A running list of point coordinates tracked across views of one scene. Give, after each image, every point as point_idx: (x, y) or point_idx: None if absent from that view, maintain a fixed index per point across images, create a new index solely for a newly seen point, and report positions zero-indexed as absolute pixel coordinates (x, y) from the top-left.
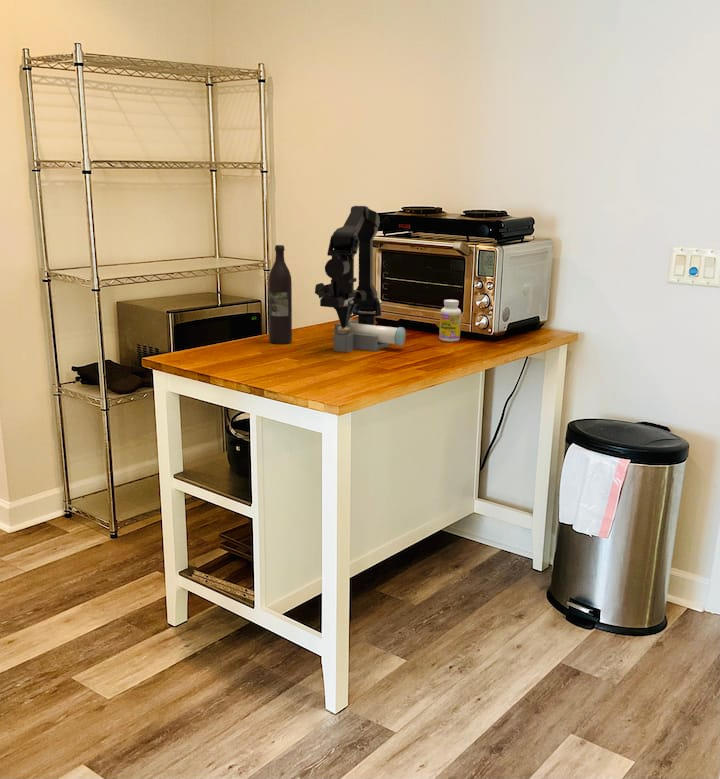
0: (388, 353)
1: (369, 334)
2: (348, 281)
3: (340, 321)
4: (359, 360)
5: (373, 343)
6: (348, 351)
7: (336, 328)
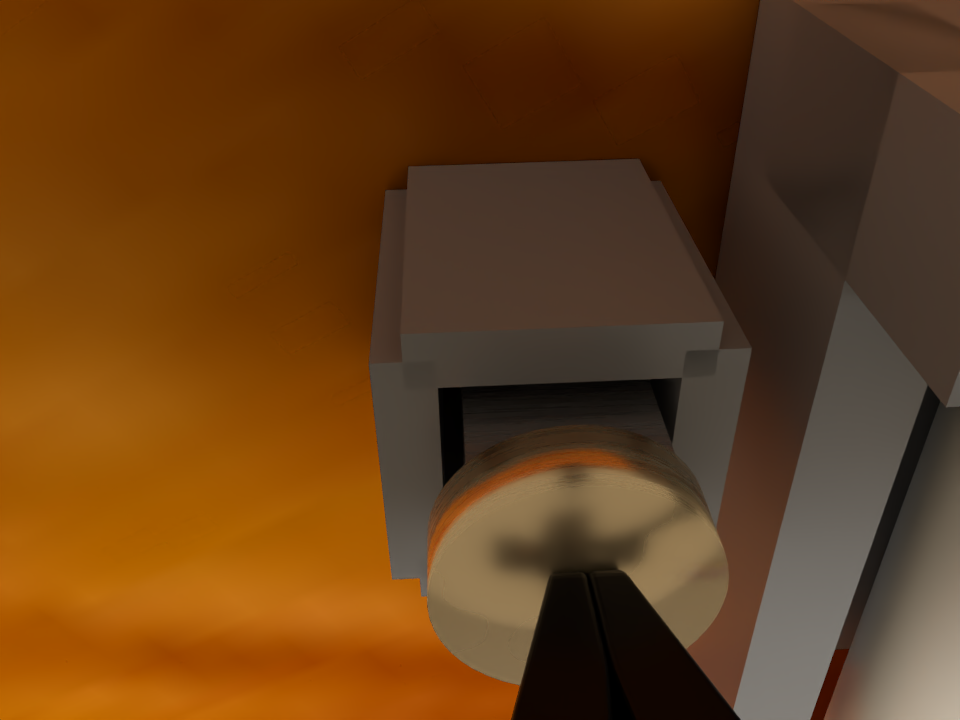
0: None
1: (874, 675)
2: None
3: (512, 715)
4: (123, 666)
5: None
6: None
7: (930, 178)
